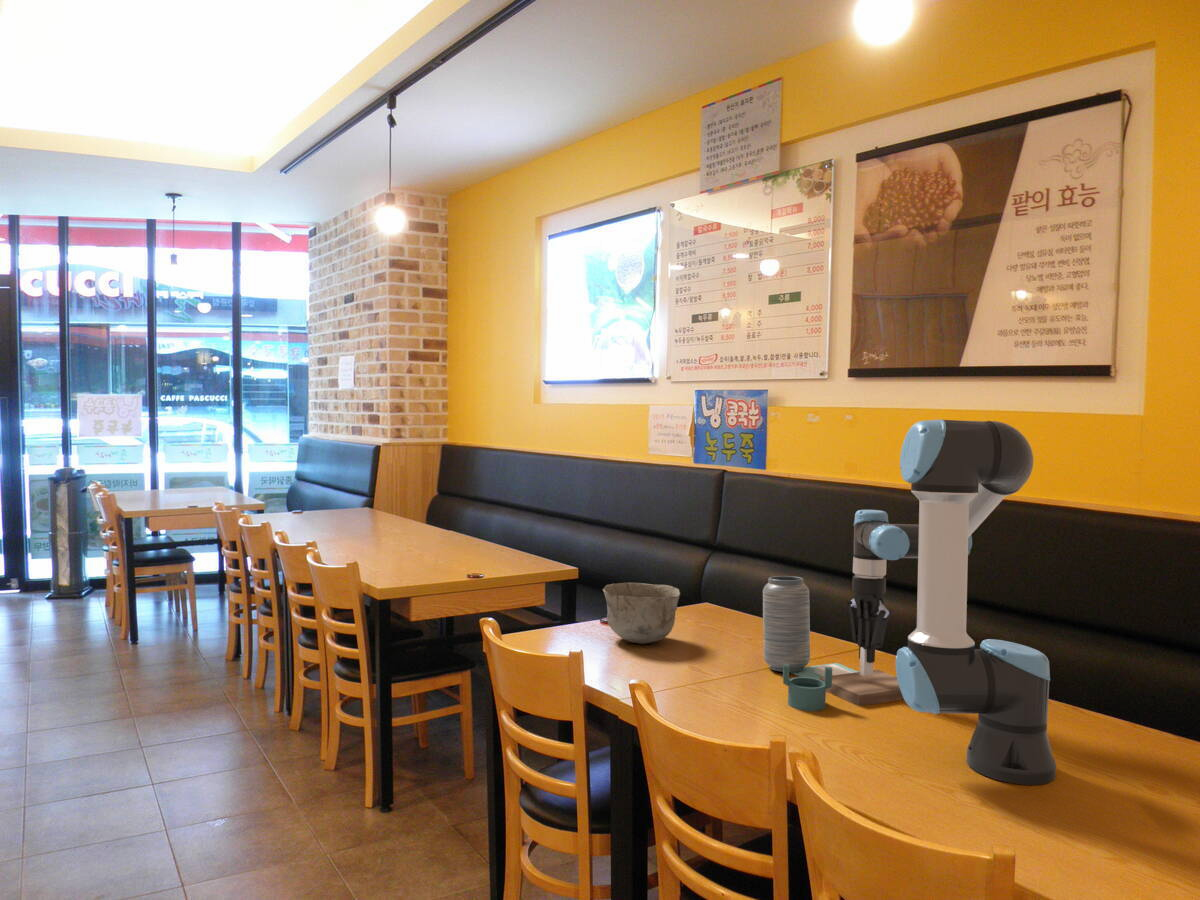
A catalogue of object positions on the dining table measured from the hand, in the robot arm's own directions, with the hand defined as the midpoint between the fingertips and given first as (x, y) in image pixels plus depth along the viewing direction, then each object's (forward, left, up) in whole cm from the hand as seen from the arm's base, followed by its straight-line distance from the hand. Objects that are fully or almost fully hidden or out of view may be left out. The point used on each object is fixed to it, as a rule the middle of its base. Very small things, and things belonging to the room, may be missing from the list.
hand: (866, 674), depth 208 cm
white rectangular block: (+11, 0, -4) cm, 12 cm away
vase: (+21, +7, -4) cm, 23 cm away
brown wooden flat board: (-1, 0, -4) cm, 4 cm away
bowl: (+59, +30, -4) cm, 66 cm away
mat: (+13, 0, -4) cm, 14 cm away
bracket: (-2, +19, -4) cm, 20 cm away
